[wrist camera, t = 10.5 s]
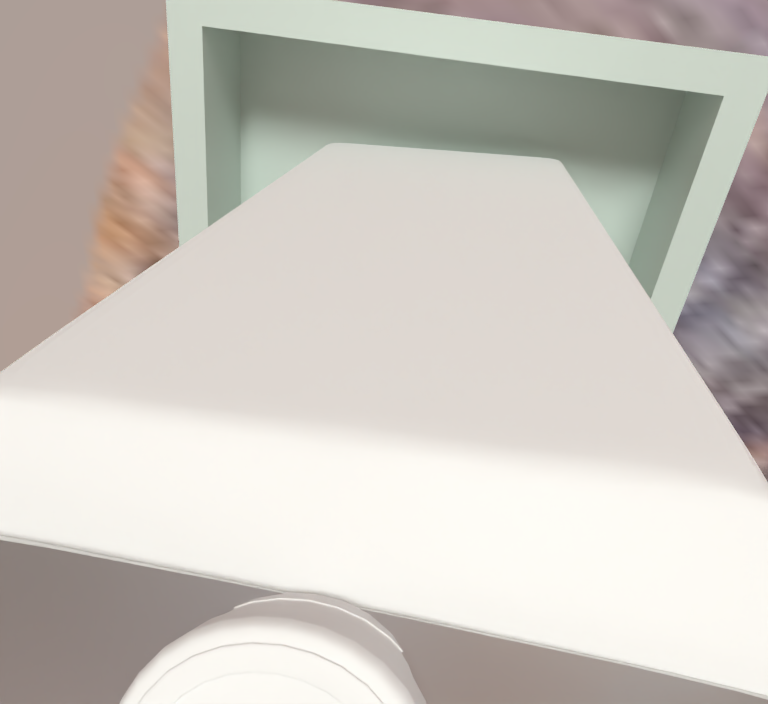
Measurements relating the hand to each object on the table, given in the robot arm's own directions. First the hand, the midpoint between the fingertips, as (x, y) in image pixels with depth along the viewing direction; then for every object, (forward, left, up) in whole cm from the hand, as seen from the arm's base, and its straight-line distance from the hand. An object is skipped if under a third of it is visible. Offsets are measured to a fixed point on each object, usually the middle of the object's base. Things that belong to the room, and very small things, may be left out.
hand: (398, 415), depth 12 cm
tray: (0, 0, -12) cm, 12 cm away
